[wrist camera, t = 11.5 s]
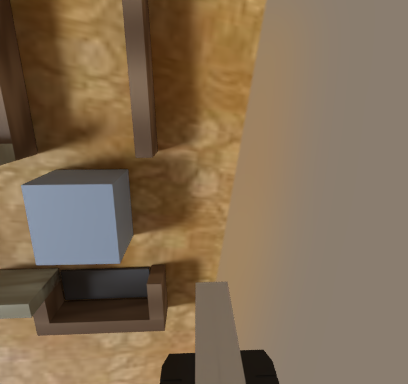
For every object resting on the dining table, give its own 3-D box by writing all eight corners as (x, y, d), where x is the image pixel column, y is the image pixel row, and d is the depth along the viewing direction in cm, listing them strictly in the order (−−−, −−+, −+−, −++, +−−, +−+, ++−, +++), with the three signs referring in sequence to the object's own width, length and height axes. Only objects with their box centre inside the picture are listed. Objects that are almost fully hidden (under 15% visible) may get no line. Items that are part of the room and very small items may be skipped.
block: (55, 169, 24) (21, 185, 19) (128, 168, 24) (112, 184, 19) (65, 235, 26) (36, 265, 21) (133, 234, 26) (119, 263, 21)
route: (-103, -110, 18) (-208, -186, 14) (140, -110, 19) (122, -184, 14) (5, 313, 28) (-35, 357, 23) (167, 307, 28) (162, 349, 23)
